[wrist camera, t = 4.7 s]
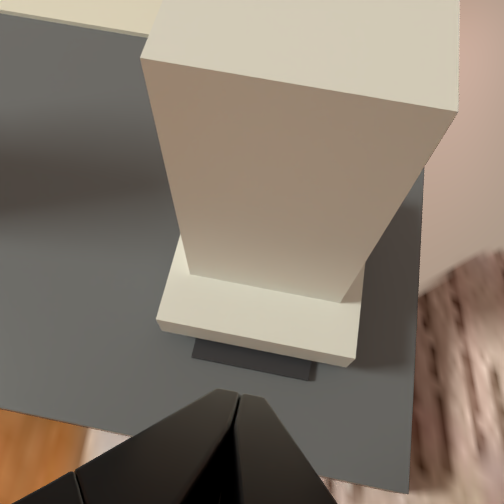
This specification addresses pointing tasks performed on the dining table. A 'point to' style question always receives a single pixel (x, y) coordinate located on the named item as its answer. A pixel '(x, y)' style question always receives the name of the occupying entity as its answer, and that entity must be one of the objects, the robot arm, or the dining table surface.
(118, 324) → the switch board
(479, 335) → the dining table surface
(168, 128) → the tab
